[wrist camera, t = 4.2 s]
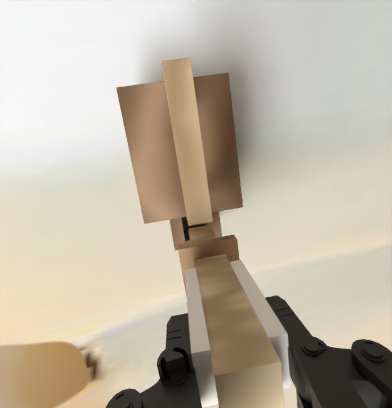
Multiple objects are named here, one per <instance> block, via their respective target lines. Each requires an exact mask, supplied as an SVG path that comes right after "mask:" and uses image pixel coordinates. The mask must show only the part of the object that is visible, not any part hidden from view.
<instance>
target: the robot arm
mask: <svg viewBox="0 0 392 408" xmlns="http://www.w3.org/2000/svg"><path fill="white" fill-rule="evenodd" d="M230 265H231V267H232V269H233V271H234V272H235V274H236V276H237V278H238V280H239V282H240V284H241V286H242V288H243V290H244V292H245V294H246V296H247V298H248V300H249V302H250V304H251V306H252V308H253V310H254V312H255V314H256V316H257V317H258V319H259V321H260V323H261V325H262V327H263V329H264V331H265V333H266V335H267V337H268V339H269V341H270V342H271V343H272V345H273V347H274V349H275V351H276V353H277V355H278V357H279V359H280V361H281V369H282V381H283V390H284V389H289V388H291V379H292V381H293V383H294V385H295V387H296V392H297V407H298V408H392V352H391V351H390V350H388V349H387V348H386V347H384V346H382V345H381V344H379V343H376V342H374V341H371V340H365V339H362V340H356V341H355V342H353V344H352V347H351V349H341V348H333V347H329V346H327V345H326V344H325V343H324V342H323V341H321V340H320V339H318V338H316V337H313V336H312V335H311V334H310V333H309V331H308V330H307V329H306V327H305V326H304V325H303V324H302V322H301V321H300V320H299V318H298V317H297V316H296V314H295V313H294V312H293V310H292V309H290V307H289V305H288V304H287V303H286V301H285V300H283V299H282V298H280V297H279V296H272V297H266V298H265V297H264V296H263V294H262V293H261V291H260V290H259V288H258V286H257V285H256V283H255V282H254V280H253V279H252V277H251V275H250V274H249V272H248V271H247V269H246V268H245V266H244V264H243V263H242V261H241V260H237V261H232V262H230ZM185 282H186V294H187V307H188V313H187V314H181V315H176V316H171V318H170V320H169V321H168V323H167V334H166V349H165V350H164V351H163V352H162V353H161V354H160V356H159V358H158V361H157V367H158V372H159V376H160V379H159V381H158V382H157V383H156V384H155V385H153V386H152V387H150V388H149V389H147V390H145V391H143V392H142V393H139V392H138V391H136V390H135V389H126V390H122V391H121V392H119V393H117V394H116V395H115V396H114V397H113V398H112V399H111V400H110V401H109V403H108V405H107V406H106V408H202V407H206V406H211V405H215V404H218V398H217V391H216V385H215V379H214V373H213V367H212V361H211V354H210V353H211V350H210V345H209V339H208V334H207V328H206V323H205V317H204V312H203V306H202V300H201V295H200V289H199V284H198V278H197V273H196V268H193V269H188V270H185Z"/></svg>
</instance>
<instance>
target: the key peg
mask: <svg viewBox="0 0 392 408" xmlns="http://www.w3.org/2000/svg"><path fill="white" fill-rule="evenodd" d="M188 230H189V236H190V242H189V243H184V244H178V251H179V257H180V262H181V268H182V274H183V279H184V285H185V290H186V282H185V270H188V269H193V268H196V273H197V278H198V284H199V289H200V295H201V300H202V306H203V312H204V317H205V323H206V328H207V334H208V339H209V345H210V350H211V353H210V354H211V361H212V367H213V373H214V379H215V385H216V391H217V398H218V404H219V408H285V406H284V394H283V381H282V369H281V361H280V359H279V357H278V355H277V353H276V351H275V349H274V347H273V345H272V343H271V342H270V341H269V339H268V337H267V335H266V333H265V331H264V329H263V327H262V325H261V323H260V321H259V319H258V317H257V316H256V314H255V312H254V310H253V308H252V306H251V304H250V302H249V300H248V298H247V296H246V294H245V292H244V290H243V288H242V286H241V284H240V282H239V280H238V278H237V276H236V274H235V272H234V271H233V269H232V267H231V265H230V262H232V261H237V260H239V252H238V244H237V239H236V237H235V236H234V235H229V236H224V237H218V238H217V237H216V235H215V233H214V231H213V229H212V227H211V225H207V226H201V227H195V228H190V229H188ZM186 296H187V294H186Z"/></svg>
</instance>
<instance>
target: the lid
mask: <svg viewBox="0 0 392 408" xmlns="http://www.w3.org/2000/svg"><path fill="white" fill-rule="evenodd" d="M162 67H163V75H164V81H163V82H155V83H148V84H140V85H132V86H125V87H117V93H118V98H119V103H120V108H121V112H122V117H123V122H124V127H125V132H126V137H127V142H128V146H129V151H130V156H131V161H132V166H133V171H134V176H135V180H136V185H137V190H138V195H139V200H140V205H141V210H142V214H143V219H144V224H145V223H151V222H157V221H163V220H169V219H170V225H171V230H172V236H173V241H174V247H175V250H178V244H184V243H186V242H185V236H184V230H183V225H182V219H181V217H187V221H188V226H191V225H196V224H202V223H208V225H211V227H212V229H213V231H214V233H215V235H216V237H217V238H218V237H222V232H221V225H220V217H219V211H222V210H228V209H234V208H240V207H243V204H242V195H241V186H240V177H239V167H238V158H237V149H236V139H235V130H234V121H233V112H232V102H231V93H230V84H229V75H228V73H224V74H217V75H209V76H201V77H194V78H193V74H192V67H191V60H190V58H185V59H177V60H169V61H162Z"/></svg>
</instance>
